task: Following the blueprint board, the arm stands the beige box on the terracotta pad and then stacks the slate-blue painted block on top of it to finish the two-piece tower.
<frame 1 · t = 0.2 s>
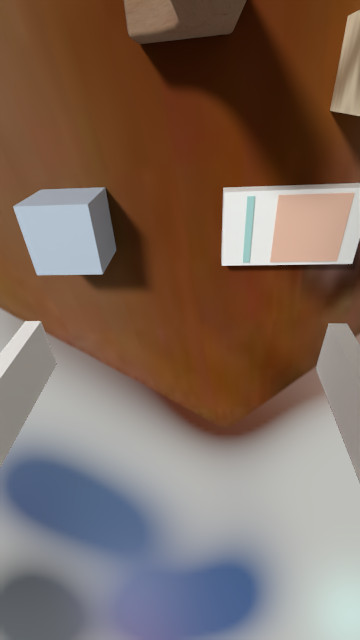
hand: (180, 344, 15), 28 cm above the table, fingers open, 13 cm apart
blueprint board: (287, 224, 39), on the table
slate block: (80, 221, 41), on the table
wooden block: (183, 6, 29), on the table
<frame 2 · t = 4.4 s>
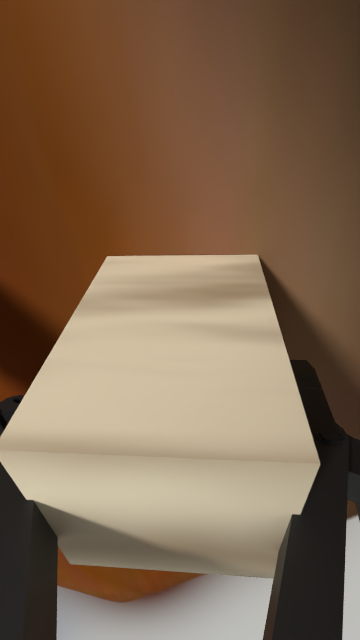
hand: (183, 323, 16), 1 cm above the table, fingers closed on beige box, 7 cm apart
beige box: (183, 316, 17), on the table, touching gripper
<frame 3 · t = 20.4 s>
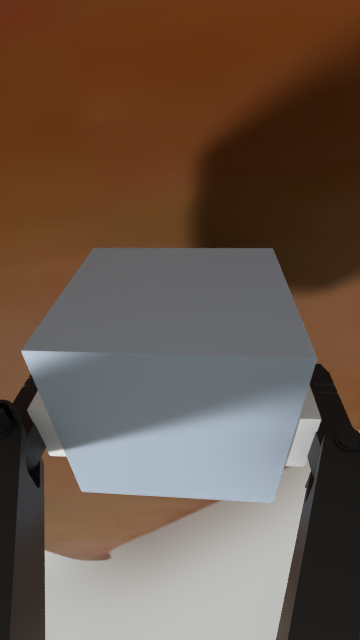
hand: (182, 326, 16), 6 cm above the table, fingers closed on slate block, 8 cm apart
slate block: (183, 320, 17), point 5 cm above the table, touching gripper
when the fingers open (13 cm above the table, at t = 27.3 s): slate block stays where it is, resting on beige box.
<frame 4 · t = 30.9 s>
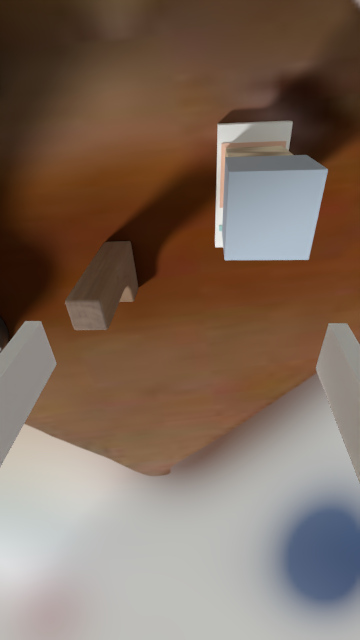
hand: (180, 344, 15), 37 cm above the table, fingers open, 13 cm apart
beige box: (250, 176, 42), point 2 cm above the table, touching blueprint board, slate block
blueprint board: (247, 188, 45), on the table
slate block: (260, 197, 34), point 12 cm above the table, touching beige box
wooden block: (122, 265, 54), on the table
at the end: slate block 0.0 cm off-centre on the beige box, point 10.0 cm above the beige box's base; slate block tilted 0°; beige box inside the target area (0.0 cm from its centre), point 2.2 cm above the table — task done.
